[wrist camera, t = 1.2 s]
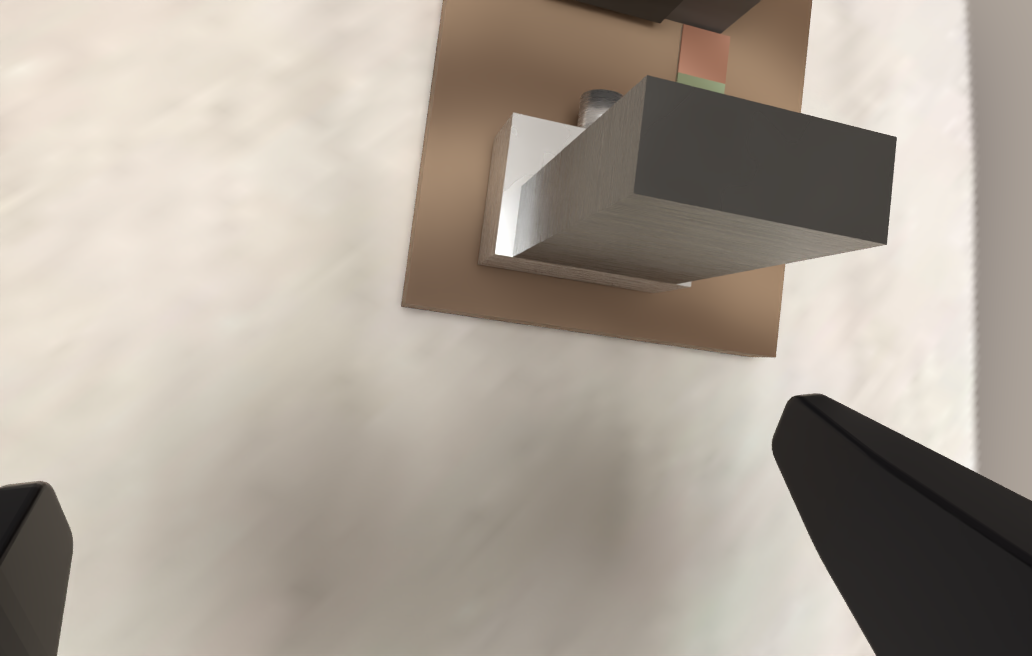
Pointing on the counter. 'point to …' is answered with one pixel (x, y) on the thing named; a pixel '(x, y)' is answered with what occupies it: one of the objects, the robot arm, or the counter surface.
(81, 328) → the counter surface
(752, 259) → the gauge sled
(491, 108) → the base
